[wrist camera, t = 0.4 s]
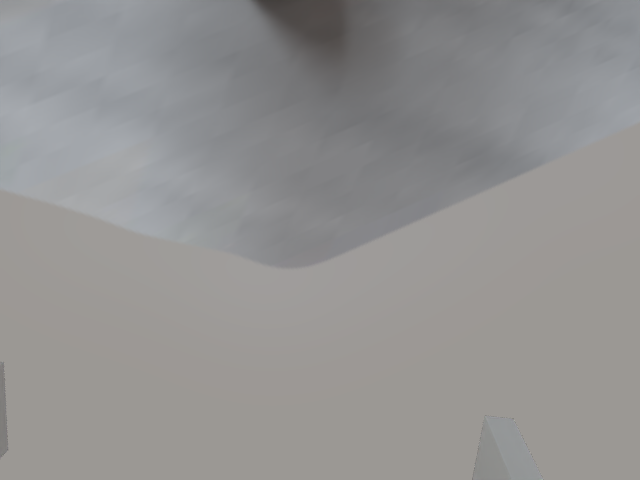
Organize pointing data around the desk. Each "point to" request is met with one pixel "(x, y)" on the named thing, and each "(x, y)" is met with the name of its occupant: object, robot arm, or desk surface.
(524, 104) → the desk surface
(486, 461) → the robot arm
